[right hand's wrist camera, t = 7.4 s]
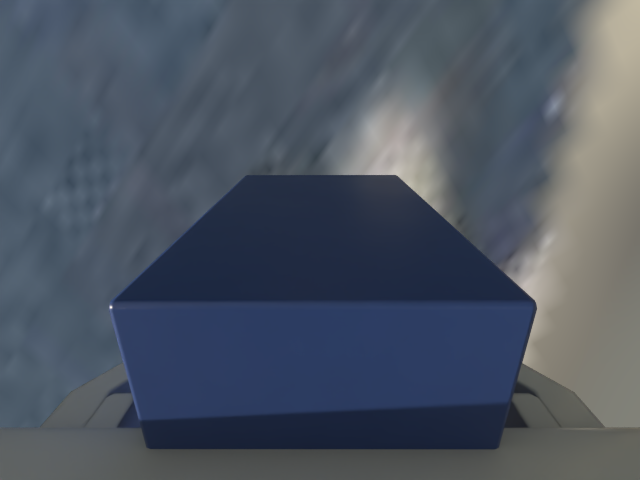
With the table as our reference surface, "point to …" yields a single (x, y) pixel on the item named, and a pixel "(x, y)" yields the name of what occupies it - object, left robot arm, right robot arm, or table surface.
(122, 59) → the table surface
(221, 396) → the bar
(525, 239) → the table surface
